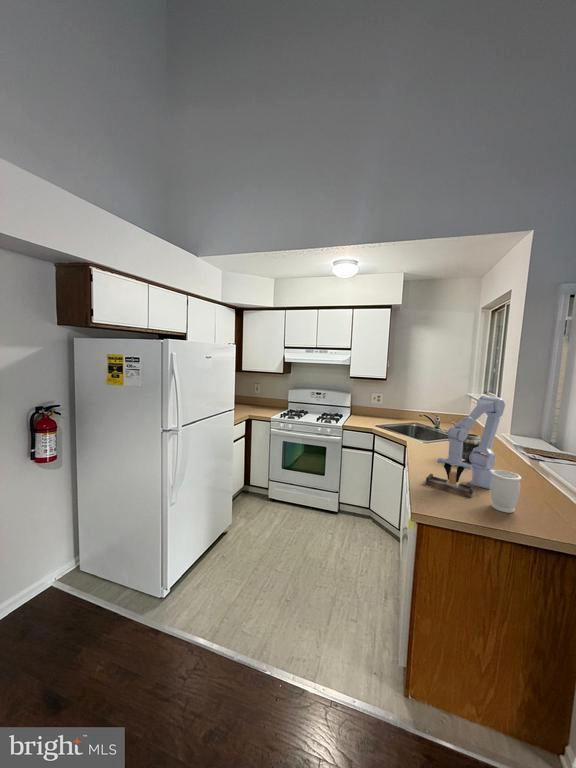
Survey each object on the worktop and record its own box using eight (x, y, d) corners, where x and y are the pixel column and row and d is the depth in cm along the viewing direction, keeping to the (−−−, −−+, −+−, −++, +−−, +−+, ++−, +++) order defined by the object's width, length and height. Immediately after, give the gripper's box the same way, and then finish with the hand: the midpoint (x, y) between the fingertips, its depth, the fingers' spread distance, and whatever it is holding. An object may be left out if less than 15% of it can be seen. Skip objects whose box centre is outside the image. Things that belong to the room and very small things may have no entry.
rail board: (475, 491, 149) (475, 484, 149) (471, 498, 143) (471, 490, 142) (430, 479, 162) (431, 473, 162) (425, 485, 155) (425, 478, 155)
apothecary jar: (481, 463, 189) (483, 434, 187) (480, 469, 178) (483, 438, 177) (458, 459, 195) (460, 431, 193) (456, 465, 185) (459, 435, 183)
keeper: (459, 485, 152) (460, 472, 151) (457, 488, 148) (458, 475, 147) (448, 482, 155) (449, 469, 154) (445, 485, 151) (446, 472, 150)
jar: (518, 517, 127) (522, 481, 125) (488, 509, 132) (491, 475, 130) (516, 506, 136) (520, 472, 134) (488, 500, 141) (491, 467, 139)
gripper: (436, 451, 151) (434, 478, 153) (471, 458, 142) (468, 487, 144) (440, 447, 157) (438, 474, 158) (474, 454, 147) (471, 482, 149)
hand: (453, 480), depth 151 cm, fingers closed on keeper, 3 cm apart
